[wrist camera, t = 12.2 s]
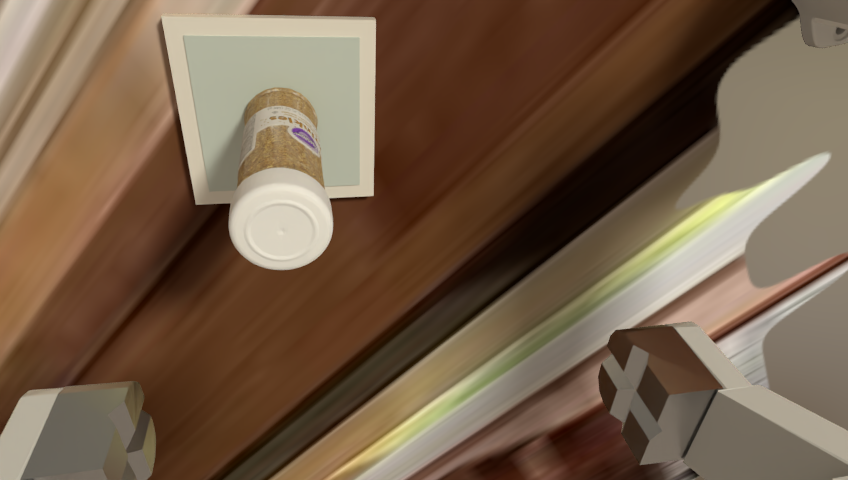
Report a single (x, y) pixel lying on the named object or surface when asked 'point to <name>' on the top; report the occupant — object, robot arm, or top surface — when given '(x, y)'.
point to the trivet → (267, 68)
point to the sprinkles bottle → (280, 184)
